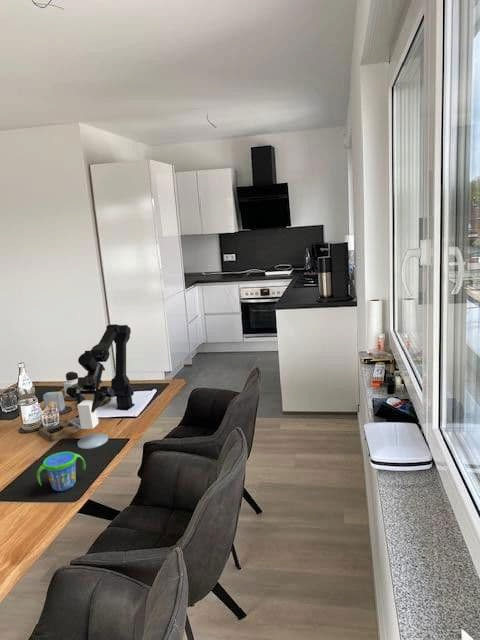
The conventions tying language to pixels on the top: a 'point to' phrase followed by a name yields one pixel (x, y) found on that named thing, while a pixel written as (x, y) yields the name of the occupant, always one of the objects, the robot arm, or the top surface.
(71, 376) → the medicine bottle
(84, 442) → the pad
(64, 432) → the walnut channel
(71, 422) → the trap pit
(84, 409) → the white block
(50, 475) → the snack cup
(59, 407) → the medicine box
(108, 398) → the brown round slab
